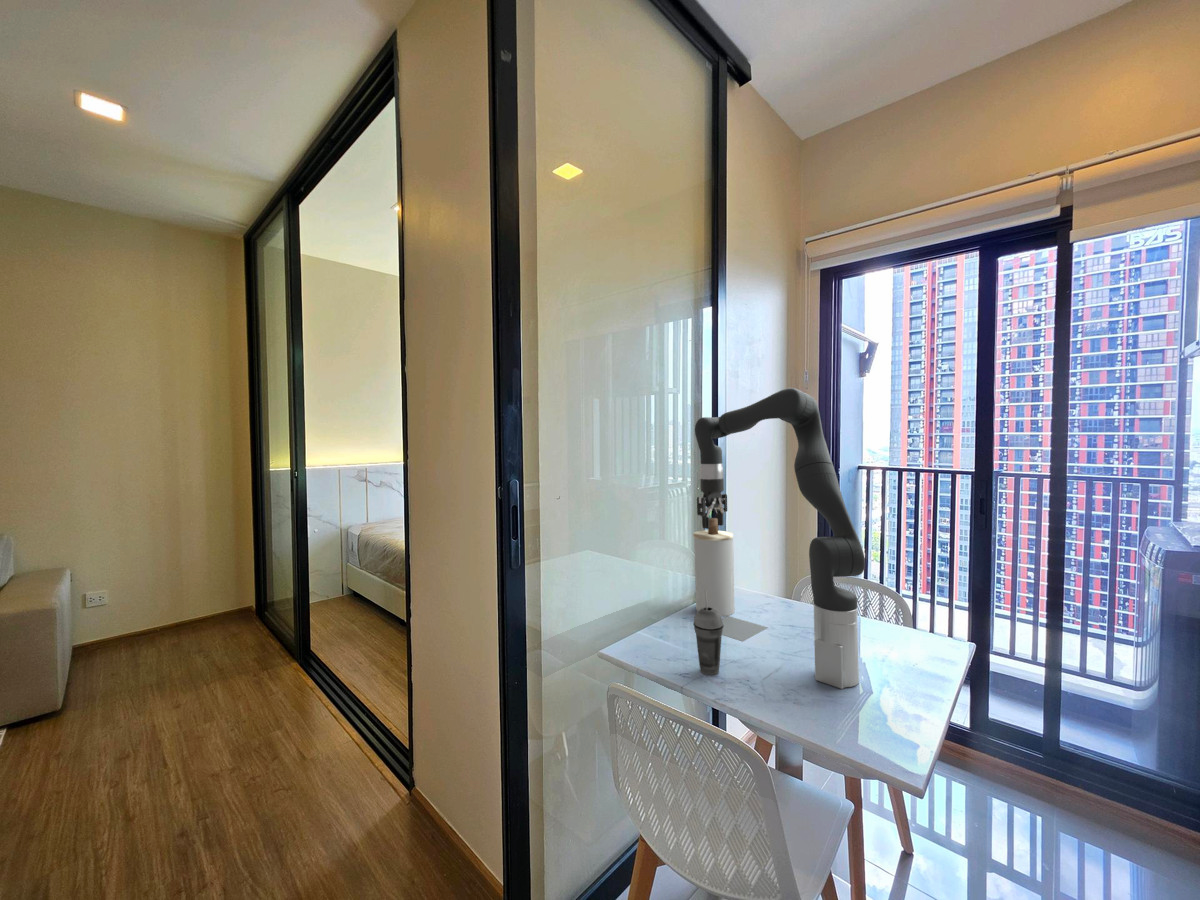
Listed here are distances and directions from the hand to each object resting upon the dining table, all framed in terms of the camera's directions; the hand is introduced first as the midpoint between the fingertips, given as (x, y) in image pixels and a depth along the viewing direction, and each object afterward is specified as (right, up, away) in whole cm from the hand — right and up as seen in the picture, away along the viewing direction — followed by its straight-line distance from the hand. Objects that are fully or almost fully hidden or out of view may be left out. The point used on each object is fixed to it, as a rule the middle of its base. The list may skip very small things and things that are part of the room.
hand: (713, 526), depth 158 cm
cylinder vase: (+1, -29, 0) cm, 29 cm away
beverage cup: (-11, -29, -41) cm, 51 cm away
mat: (+3, -28, -15) cm, 32 cm away
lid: (0, -3, 0) cm, 3 cm away
